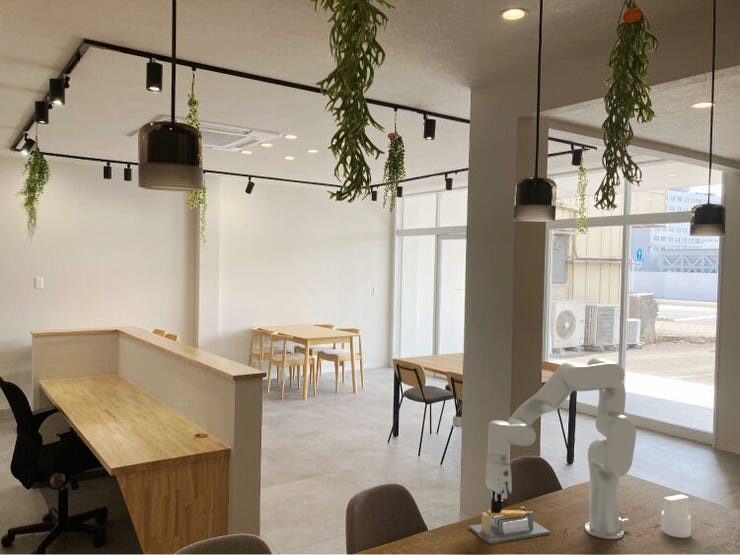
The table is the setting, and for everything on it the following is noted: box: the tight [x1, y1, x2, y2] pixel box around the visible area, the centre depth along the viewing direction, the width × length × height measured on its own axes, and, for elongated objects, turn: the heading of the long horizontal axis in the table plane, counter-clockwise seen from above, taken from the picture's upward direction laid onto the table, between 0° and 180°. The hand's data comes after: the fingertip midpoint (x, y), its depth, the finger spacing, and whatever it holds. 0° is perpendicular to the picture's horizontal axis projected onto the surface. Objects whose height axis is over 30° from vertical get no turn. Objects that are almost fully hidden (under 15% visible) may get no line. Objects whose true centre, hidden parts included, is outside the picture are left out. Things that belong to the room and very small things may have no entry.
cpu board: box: [468, 506, 551, 544], centre depth 205 cm, size 24×13×7 cm, turn 110°
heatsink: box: [490, 515, 529, 536], centre depth 205 cm, size 10×9×4 cm
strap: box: [486, 509, 529, 517], centre depth 205 cm, size 16×3×1 cm, turn 110°
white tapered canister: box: [661, 494, 692, 538], centre depth 206 cm, size 9×9×12 cm
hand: (496, 510), depth 204 cm, fingers closed
